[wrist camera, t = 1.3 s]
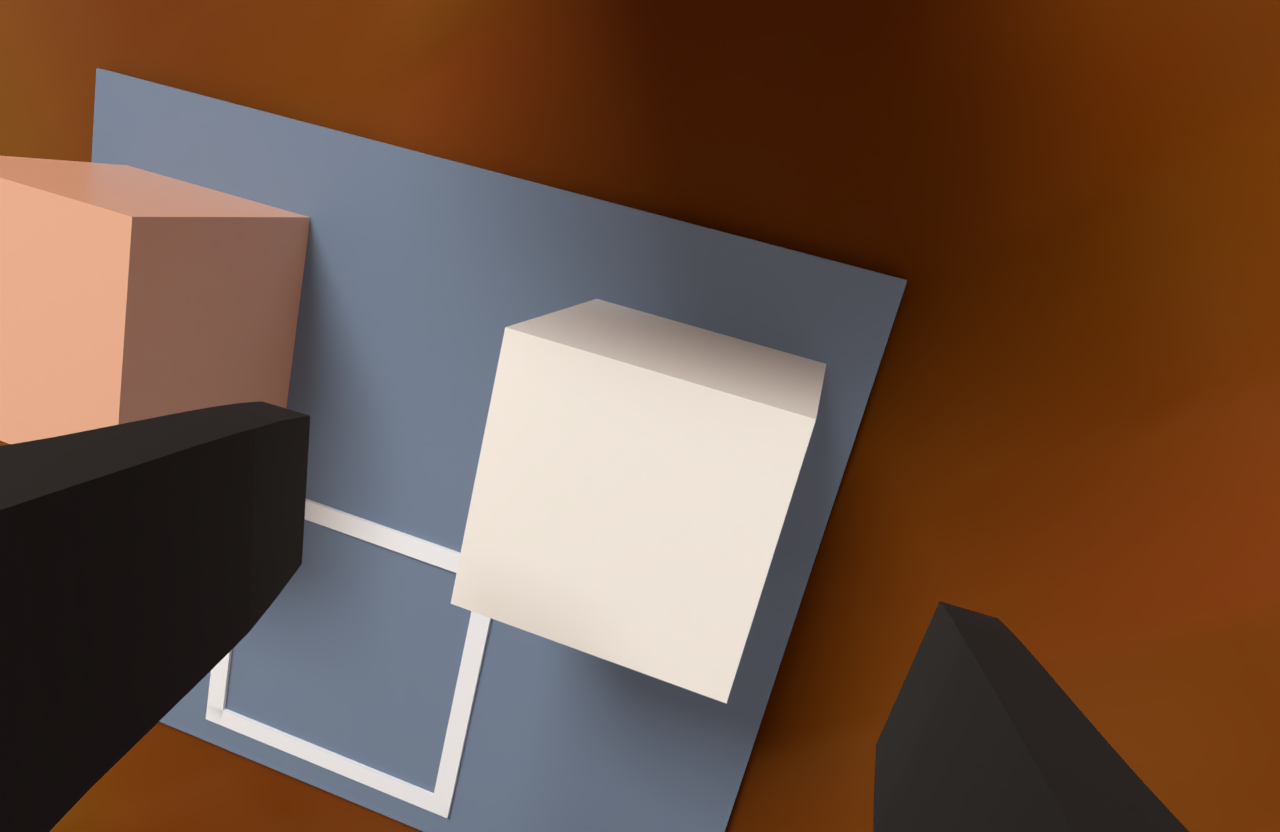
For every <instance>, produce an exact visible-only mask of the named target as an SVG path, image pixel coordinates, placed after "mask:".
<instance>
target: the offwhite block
mask: <svg viewBox="0 0 1280 832" xmlns="http://www.w3.org/2000/svg"><path fill="white" fill-rule="evenodd" d="M825 369H826V364H825V363H822V362H818V361H815V360H811V359H808V358H804V357H800V356H797V355H793V354H790V353H786V352H783V351H779V350H776V349H772V348H769V347H765V346H762V345H758V344H755V343H751V342H748V341H744V340H741V339H737V338H734V337H730V336H727V335H723V334H719V333H716V332H712V331H709V330H705V329H702V328H698V327H695V326H691V325H688V324H684V323H681V322H677V321H674V320H670V319H667V318H663V317H660V316H656V315H653V314H649V313H646V312H642V311H638V310H635V309H631V308H628V307H624V306H621V305H617V304H614V303H610V302H607V301H603V300H600V299H594V300H591V301H588V302H585V303H582V304H578V305H575V306H572V307H569V308H566V309H562V310H559V311H556V312H553V313H549V314H546V315H543V316H540V317H537V318H533V319H530V320H527V321H524V322H521V323H517V324H514V325H511V326H508V327H505V331H504V336H503V341H502V346H501V351H500V356H499V361H498V366H497V371H496V376H495V381H494V386H493V391H492V396H491V402H490V407H489V412H488V417H487V422H486V427H485V432H484V437H483V442H482V447H481V452H480V457H479V462H478V467H477V472H476V477H475V482H474V487H473V492H472V497H471V502H470V508H469V513H468V518H467V523H466V528H465V533H464V538H463V543H462V548H461V553H460V558H459V563H458V568H457V573H456V578H455V583H454V588H453V593H452V598H451V603H450V604H453V605H456V606H459V607H461V608H464V609H467V610H470V611H472V612H475V613H478V614H481V615H483V616H486V617H489V618H492V619H494V620H497V621H500V622H503V623H505V624H508V625H511V626H514V627H516V628H519V629H522V630H525V631H527V632H530V633H533V634H536V635H539V636H541V637H544V638H547V639H550V640H552V641H555V642H558V643H561V644H563V645H566V646H569V647H572V648H574V649H577V650H580V651H583V652H585V653H588V654H591V655H594V656H596V657H599V658H602V659H605V660H607V661H610V662H613V663H616V664H619V665H621V666H624V667H627V668H630V669H632V670H635V671H638V672H641V673H643V674H646V675H649V676H652V677H654V678H657V679H660V680H663V681H665V682H668V683H671V684H674V685H676V686H679V687H682V688H685V689H687V690H690V691H693V692H696V693H699V694H701V695H704V696H707V697H710V698H712V699H715V700H718V701H721V702H723V703H727V700H728V697H729V694H730V691H731V688H732V684H733V681H734V678H735V675H736V672H737V669H738V665H739V662H740V659H741V656H742V653H743V650H744V646H745V643H746V640H747V637H748V634H749V631H750V627H751V624H752V621H753V618H754V615H755V611H756V608H757V605H758V602H759V599H760V596H761V592H762V589H763V586H764V583H765V580H766V577H767V573H768V570H769V567H770V564H771V561H772V558H773V554H774V551H775V548H776V545H777V542H778V539H779V535H780V532H781V529H782V526H783V523H784V520H785V516H786V513H787V510H788V507H789V504H790V501H791V497H792V494H793V491H794V488H795V485H796V481H797V478H798V475H799V472H800V469H801V466H802V462H803V459H804V456H805V453H806V450H807V447H808V443H809V440H810V437H811V434H812V431H813V428H814V424H815V421H816V417H817V412H818V406H819V401H820V396H821V390H822V385H823V380H824V374H825Z"/></svg>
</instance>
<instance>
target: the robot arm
mask: <svg viewBox="0 0 1280 832" xmlns="http://www.w3.org/2000/svg"><path fill="white" fill-rule="evenodd" d="M309 431H310V415H306V414H303V413H300V412H296V411H293V410H289V409H286V408H283V407H279V406H276V405H273V404H269V403H266V402H262V401H259V402H246V403H237V404H229V405H222V406H215V407H209V408H203V409H197V410H192V411H186V412H181V413H176V414H170V415H165V416H160V417H155V418H150V419H144V420H139V421H134V422H129V423H124V424H119V425H114V426H108V427H103V428H98V429H93V430H88V431H83V432H78V433H72V434H67V435H62V436H57V437H51V438H45V439H39V440H34V441H28V442H22V443H16V444H10V445H4V446H0V832H49V831H50V830H51V829H52V828H53V827H54V826H55V825H56V824H57V823H58V822H59V821H60V820H61V818H62V817H63V816H64V815H65V814H66V813H67V812H68V811H69V810H70V809H71V808H72V807H73V806H74V805H75V804H76V803H77V802H78V801H79V800H80V799H81V797H82V796H83V795H84V794H85V793H86V792H87V791H88V790H89V789H90V788H91V787H92V786H93V785H94V784H95V783H96V782H97V781H98V780H99V779H100V778H101V777H102V776H103V775H104V774H105V773H106V772H107V771H108V770H110V769H111V768H112V767H113V766H114V765H115V764H116V763H117V762H118V761H119V760H120V759H121V758H122V757H123V756H124V755H125V754H126V753H127V752H128V751H129V750H130V749H131V748H132V747H133V746H134V745H135V744H136V743H137V742H138V741H139V740H140V739H141V738H142V737H143V736H144V735H145V734H146V733H148V732H149V731H150V730H151V729H152V728H153V727H154V726H155V725H156V724H157V723H158V722H159V721H160V720H161V719H162V718H163V717H164V716H165V715H166V714H167V713H168V712H169V711H170V710H171V709H172V708H173V707H174V706H175V705H176V704H177V703H178V702H179V701H180V700H181V699H182V698H183V697H185V696H186V695H187V694H188V693H189V692H190V691H191V690H192V689H193V688H194V687H195V686H196V685H197V684H198V683H199V682H200V681H201V680H202V679H203V678H204V677H205V676H206V675H207V674H208V673H209V672H210V671H211V670H212V669H213V668H214V667H215V666H216V665H217V664H218V663H219V662H220V661H221V660H222V659H223V658H224V657H225V656H226V655H227V654H228V653H229V652H230V651H231V650H232V649H233V648H234V647H235V646H236V645H237V644H238V643H239V642H240V641H241V640H242V639H243V638H244V637H245V636H246V635H247V634H248V633H249V632H250V631H251V629H252V628H253V627H254V626H255V624H256V623H257V622H258V621H259V619H260V618H261V617H262V616H263V614H264V613H265V612H266V611H267V609H268V608H269V607H270V606H271V604H272V603H273V602H274V601H275V599H276V598H277V597H278V595H279V594H280V593H281V591H282V590H283V589H284V587H285V586H286V585H287V583H288V582H289V581H290V579H291V578H292V577H293V575H294V574H295V573H296V571H297V570H298V568H299V567H300V566H301V564H302V553H303V536H304V518H305V501H306V483H307V466H308V448H309ZM873 832H1189V831H1188V830H1187V829H1186V828H1185V827H1184V826H1183V825H1182V824H1181V823H1180V822H1179V821H1178V820H1177V819H1176V817H1175V816H1174V815H1173V814H1172V813H1171V812H1170V811H1169V810H1168V809H1167V808H1166V807H1165V805H1164V804H1163V803H1162V802H1161V801H1160V800H1159V799H1158V798H1157V797H1156V796H1155V795H1154V794H1153V792H1152V791H1151V790H1150V789H1149V788H1148V787H1147V786H1146V785H1145V784H1144V783H1143V781H1142V780H1141V779H1140V778H1139V777H1138V776H1137V775H1136V774H1135V773H1134V771H1133V770H1132V769H1131V768H1130V767H1129V766H1128V765H1127V764H1126V762H1125V761H1124V760H1123V759H1122V758H1121V757H1120V756H1119V755H1118V753H1117V752H1116V751H1115V750H1114V749H1113V748H1112V747H1111V745H1110V744H1109V743H1108V742H1107V741H1106V740H1105V739H1104V737H1103V736H1102V735H1101V734H1100V733H1099V732H1098V731H1097V729H1096V728H1095V727H1094V726H1093V725H1092V724H1091V722H1090V721H1089V720H1088V719H1087V718H1086V717H1085V715H1084V714H1083V713H1082V712H1081V711H1080V710H1079V709H1078V707H1077V706H1076V705H1075V704H1074V703H1073V702H1072V700H1071V699H1070V698H1069V697H1068V696H1067V695H1066V693H1065V692H1064V691H1063V690H1062V689H1061V688H1060V686H1059V685H1058V684H1057V683H1056V682H1055V681H1054V679H1053V678H1052V677H1051V676H1050V675H1049V674H1048V672H1047V671H1046V670H1045V669H1044V668H1043V667H1042V665H1041V664H1040V663H1039V662H1038V661H1037V660H1036V659H1035V657H1034V656H1033V655H1032V654H1031V653H1030V652H1029V651H1028V649H1027V648H1026V647H1025V646H1024V645H1023V644H1022V643H1021V642H1020V641H1019V639H1018V638H1017V637H1016V636H1015V635H1014V634H1013V633H1012V632H1011V631H1010V630H1009V629H1008V628H1007V627H1006V626H1005V625H1004V624H1003V623H1002V622H1001V621H1000V620H999V619H998V618H994V617H991V616H988V615H984V614H981V613H977V612H974V611H971V610H967V609H964V608H960V607H957V606H954V605H950V604H947V603H944V602H939V604H938V606H937V609H936V611H935V613H934V615H933V618H932V620H931V622H930V624H929V627H928V629H927V631H926V633H925V636H924V638H923V640H922V642H921V645H920V647H919V649H918V652H917V654H916V656H915V658H914V661H913V663H912V665H911V667H910V670H909V672H908V674H907V676H906V679H905V681H904V683H903V685H902V688H901V690H900V692H899V695H898V697H897V699H896V701H895V704H894V706H893V708H892V710H891V713H890V715H889V717H888V719H887V722H886V724H885V726H884V729H883V731H882V733H881V735H880V738H879V740H878V742H877V744H876V763H875V786H874V826H873Z"/></svg>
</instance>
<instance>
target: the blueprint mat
mask: <svg viewBox="0 0 1280 832" xmlns="http://www.w3.org/2000/svg"><path fill="white" fill-rule="evenodd" d="M92 163H104V164H118V165H128V166H131V167H135V168H139V169H142V170H146V171H149V172H153V173H156V174H160V175H163V176H167V177H170V178H174V179H177V180H181V181H184V182H188V183H191V184H195V185H198V186H202V187H205V188H209V189H212V190H216V191H219V192H223V193H227V194H230V195H234V196H237V197H241V198H244V199H248V200H251V201H255V202H258V203H262V204H265V205H269V206H272V207H276V208H279V209H283V210H286V211H290V212H293V213H297V214H300V215H304V216H308V217H310V224H309V232H308V240H307V248H306V256H305V264H304V272H303V280H302V288H301V296H300V304H299V312H298V319H297V327H296V335H295V343H294V351H293V359H292V367H291V375H290V383H289V391H288V399H287V407H286V409H289V410H293V411H296V412H300V413H303V414H306V415H310V431H309V448H308V466H307V483H306V501H305V518H304V536H303V553H302V564H301V566H300V567H299V568H298V570H297V571H296V573H295V574H294V575H293V577H292V578H291V579H290V581H289V582H288V583H287V585H286V586H285V587H284V589H283V590H282V591H281V593H280V594H279V595H278V597H277V598H276V599H275V601H274V602H273V603H272V604H271V606H270V607H269V608H268V609H267V611H266V612H265V613H264V614H263V616H262V617H261V618H260V619H259V621H258V622H257V623H256V624H255V626H254V627H253V628H252V629H251V631H250V632H249V633H248V634H247V635H246V636H245V637H244V638H243V639H242V640H241V641H240V642H239V643H238V644H237V645H236V646H235V647H234V648H233V649H232V650H231V651H230V652H229V653H228V654H227V655H226V656H225V657H224V658H223V659H222V660H221V661H220V662H219V663H218V664H217V665H216V666H215V667H214V668H213V669H212V670H211V671H210V672H209V673H208V674H207V675H206V676H205V677H204V678H203V679H202V680H201V681H200V682H199V683H198V684H197V685H196V686H195V687H194V688H193V689H192V690H191V691H190V692H189V693H188V694H187V695H186V696H185V697H183V698H182V699H181V700H180V701H179V702H178V703H177V704H176V705H175V706H174V707H173V708H172V709H171V710H170V711H169V712H168V713H167V714H166V715H165V716H164V717H163V718H162V719H161V720H160V721H159V722H162V723H164V724H166V725H169V726H171V727H174V728H176V729H178V730H181V731H183V732H186V733H188V734H190V735H193V736H195V737H198V738H200V739H202V740H205V741H207V742H210V743H212V744H214V745H217V746H219V747H222V748H224V749H226V750H229V751H231V752H234V753H236V754H238V755H241V756H243V757H246V758H248V759H250V760H253V761H255V762H258V763H260V764H262V765H265V766H267V767H270V768H272V769H274V770H277V771H279V772H282V773H284V774H286V775H289V776H291V777H294V778H296V779H298V780H301V781H303V782H306V783H308V784H310V785H313V786H315V787H318V788H320V789H322V790H325V791H327V792H330V793H332V794H334V795H337V796H339V797H342V798H344V799H346V800H349V801H351V802H354V803H356V804H358V805H361V806H363V807H366V808H368V809H370V810H373V811H375V812H378V813H380V814H382V815H385V816H387V817H390V818H392V819H394V820H397V821H399V822H402V823H404V824H406V825H409V826H411V827H414V828H416V829H418V830H421V831H423V832H725V829H726V826H727V823H728V820H729V817H730V814H731V811H732V808H733V805H734V802H735V799H736V796H737V793H738V790H739V787H740V784H741V781H742V778H743V775H744V772H745V769H746V766H747V763H748V760H749V757H750V754H751V751H752V748H753V745H754V742H755V739H756V736H757V733H758V730H759V727H760V724H761V721H762V718H763V715H764V712H765V708H766V705H767V702H768V699H769V696H770V693H771V690H772V687H773V684H774V681H775V678H776V675H777V672H778V669H779V666H780V663H781V660H782V657H783V654H784V651H785V648H786V645H787V642H788V639H789V636H790V633H791V630H792V627H793V624H794V621H795V618H796V615H797V612H798V609H799V606H800V603H801V600H802V597H803V594H804V591H805V588H806V585H807V582H808V579H809V576H810V573H811V570H812V567H813V564H814V561H815V558H816V555H817V552H818V549H819V546H820V543H821V540H822V537H823V534H824V531H825V528H826V524H827V521H828V518H829V515H830V512H831V509H832V506H833V503H834V500H835V497H836V494H837V491H838V488H839V485H840V482H841V479H842V476H843V473H844V470H845V467H846V464H847V461H848V458H849V455H850V452H851V449H852V446H853V443H854V440H855V437H856V434H857V431H858V428H859V425H860V422H861V419H862V416H863V413H864V410H865V407H866V404H867V401H868V398H869V395H870V392H871V389H872V386H873V383H874V380H875V377H876V374H877V371H878V368H879V365H880V362H881V359H882V356H883V353H884V350H885V347H886V344H887V340H888V337H889V334H890V331H891V328H892V325H893V322H894V319H895V316H896V313H897V310H898V307H899V304H900V301H901V298H902V295H903V292H904V289H905V286H906V283H907V280H906V279H902V278H898V277H894V276H891V275H887V274H883V273H879V272H875V271H871V270H868V269H864V268H860V267H856V266H852V265H849V264H845V263H841V262H837V261H833V260H829V259H826V258H822V257H818V256H814V255H810V254H807V253H803V252H799V251H795V250H791V249H787V248H784V247H780V246H776V245H772V244H768V243H765V242H761V241H757V240H753V239H749V238H746V237H742V236H738V235H734V234H730V233H726V232H723V231H719V230H715V229H711V228H707V227H704V226H700V225H696V224H692V223H688V222H684V221H681V220H677V219H673V218H669V217H665V216H662V215H658V214H654V213H650V212H646V211H642V210H639V209H635V208H631V207H627V206H623V205H620V204H616V203H612V202H608V201H604V200H601V199H597V198H593V197H589V196H585V195H581V194H578V193H574V192H570V191H566V190H562V189H559V188H555V187H551V186H547V185H543V184H539V183H536V182H532V181H528V180H524V179H520V178H517V177H513V176H509V175H505V174H501V173H497V172H494V171H490V170H486V169H482V168H478V167H475V166H471V165H467V164H463V163H459V162H456V161H452V160H448V159H444V158H440V157H436V156H433V155H429V154H425V153H421V152H417V151H414V150H410V149H406V148H402V147H398V146H394V145H391V144H387V143H383V142H379V141H375V140H372V139H368V138H364V137H360V136H356V135H352V134H349V133H345V132H341V131H337V130H333V129H330V128H326V127H322V126H318V125H314V124H310V123H307V122H303V121H299V120H295V119H291V118H288V117H284V116H280V115H276V114H272V113H269V112H265V111H261V110H257V109H253V108H249V107H246V106H242V105H238V104H234V103H230V102H227V101H223V100H219V99H215V98H211V97H207V96H204V95H200V94H196V93H192V92H188V91H185V90H181V89H177V88H173V87H169V86H165V85H162V84H158V83H154V82H150V81H146V80H143V79H139V78H135V77H131V76H127V75H124V74H120V73H116V72H112V71H108V70H104V69H99V68H96V86H95V105H94V125H93V144H92ZM594 299H600V300H603V301H607V302H610V303H614V304H617V305H621V306H624V307H628V308H631V309H635V310H638V311H642V312H646V313H649V314H653V315H656V316H660V317H663V318H667V319H670V320H674V321H677V322H681V323H684V324H688V325H691V326H695V327H698V328H702V329H705V330H709V331H712V332H716V333H719V334H723V335H727V336H730V337H734V338H737V339H741V340H744V341H748V342H751V343H755V344H758V345H762V346H765V347H769V348H772V349H776V350H779V351H783V352H786V353H790V354H793V355H797V356H800V357H804V358H808V359H811V360H815V361H818V362H822V363H825V364H826V369H825V374H824V380H823V385H822V390H821V396H820V401H819V406H818V412H817V417H816V421H815V424H814V428H813V431H812V434H811V437H810V440H809V443H808V447H807V450H806V453H805V456H804V459H803V462H802V466H801V469H800V472H799V475H798V478H797V481H796V485H795V488H794V491H793V494H792V497H791V501H790V504H789V507H788V510H787V513H786V516H785V520H784V523H783V526H782V529H781V532H780V535H779V539H778V542H777V545H776V548H775V551H774V554H773V558H772V561H771V564H770V567H769V570H768V573H767V577H766V580H765V583H764V586H763V589H762V592H761V596H760V599H759V602H758V605H757V608H756V611H755V615H754V618H753V621H752V624H751V627H750V631H749V634H748V637H747V640H746V643H745V646H744V650H743V653H742V656H741V659H740V662H739V665H738V669H737V672H736V675H735V678H734V681H733V684H732V688H731V691H730V694H729V697H728V700H727V703H723V702H721V701H718V700H715V699H712V698H710V697H707V696H704V695H701V694H699V693H696V692H693V691H690V690H687V689H685V688H682V687H679V686H676V685H674V684H671V683H668V682H665V681H663V680H660V679H657V678H654V677H652V676H649V675H646V674H643V673H641V672H638V671H635V670H632V669H630V668H627V667H624V666H621V665H619V664H616V663H613V662H610V661H607V660H605V659H602V658H599V657H596V656H594V655H591V654H588V653H585V652H583V651H580V650H577V649H574V648H572V647H569V646H566V645H563V644H561V643H558V642H555V641H552V640H550V639H547V638H544V637H541V636H539V635H536V634H533V633H530V632H527V631H525V630H522V629H519V628H516V627H514V626H511V625H508V624H505V623H503V622H500V621H497V620H494V619H492V618H489V617H486V616H483V615H481V614H478V613H475V612H472V611H470V610H467V609H464V608H461V607H459V606H456V605H453V604H450V603H451V598H452V593H453V588H454V583H455V578H456V573H457V568H458V563H459V558H460V553H461V548H462V543H463V538H464V533H465V528H466V523H467V518H468V513H469V508H470V502H471V497H472V492H473V487H474V482H475V477H476V472H477V467H478V462H479V457H480V452H481V447H482V442H483V437H484V432H485V427H486V422H487V417H488V412H489V407H490V402H491V396H492V391H493V386H494V381H495V376H496V371H497V366H498V361H499V356H500V351H501V346H502V341H503V336H504V331H505V327H508V326H511V325H514V324H517V323H521V322H524V321H527V320H530V319H533V318H537V317H540V316H543V315H546V314H549V313H553V312H556V311H559V310H562V309H566V308H569V307H572V306H575V305H578V304H582V303H585V302H588V301H591V300H594Z"/></svg>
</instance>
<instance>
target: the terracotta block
mask: <svg viewBox="0 0 1280 832" xmlns="http://www.w3.org/2000/svg"><path fill="white" fill-rule="evenodd" d="M309 224H310V217H308V216H304V215H300V214H297V213H293V212H290V211H286V210H283V209H279V208H276V207H272V206H269V205H265V204H262V203H258V202H255V201H251V200H248V199H244V198H241V197H237V196H234V195H230V194H227V193H223V192H219V191H216V190H212V189H209V188H205V187H202V186H198V185H195V184H191V183H188V182H184V181H181V180H177V179H174V178H170V177H167V176H163V175H160V174H156V173H153V172H149V171H146V170H142V169H139V168H135V167H131V166H128V165H118V164H104V163H91V162H77V161H64V160H50V159H37V158H23V157H10V156H0V440H1V441H3V442H6V443H9V444H16V443H22V442H28V441H34V440H39V439H45V438H51V437H57V436H62V435H67V434H72V433H78V432H83V431H88V430H93V429H98V428H103V427H108V426H114V425H119V424H124V423H129V422H134V421H139V420H144V419H150V418H155V417H160V416H165V415H170V414H176V413H181V412H186V411H192V410H197V409H203V408H209V407H215V406H222V405H229V404H237V403H246V402H259V401H262V402H266V403H269V404H273V405H276V406H279V407H283V408H286V407H287V399H288V391H289V383H290V375H291V367H292V359H293V351H294V343H295V335H296V327H297V319H298V312H299V304H300V296H301V288H302V280H303V272H304V264H305V256H306V248H307V240H308V232H309Z"/></svg>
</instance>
